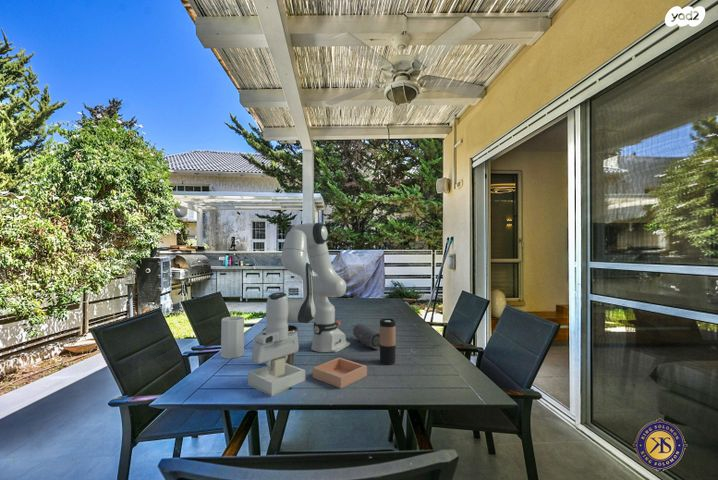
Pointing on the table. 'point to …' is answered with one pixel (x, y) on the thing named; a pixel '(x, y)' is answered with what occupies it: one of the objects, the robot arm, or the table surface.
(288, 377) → the light grey bin
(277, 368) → the sandstone block
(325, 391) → the table surface
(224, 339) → the cup
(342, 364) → the terracotta bin
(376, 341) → the bluetooth speaker
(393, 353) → the travel mug
